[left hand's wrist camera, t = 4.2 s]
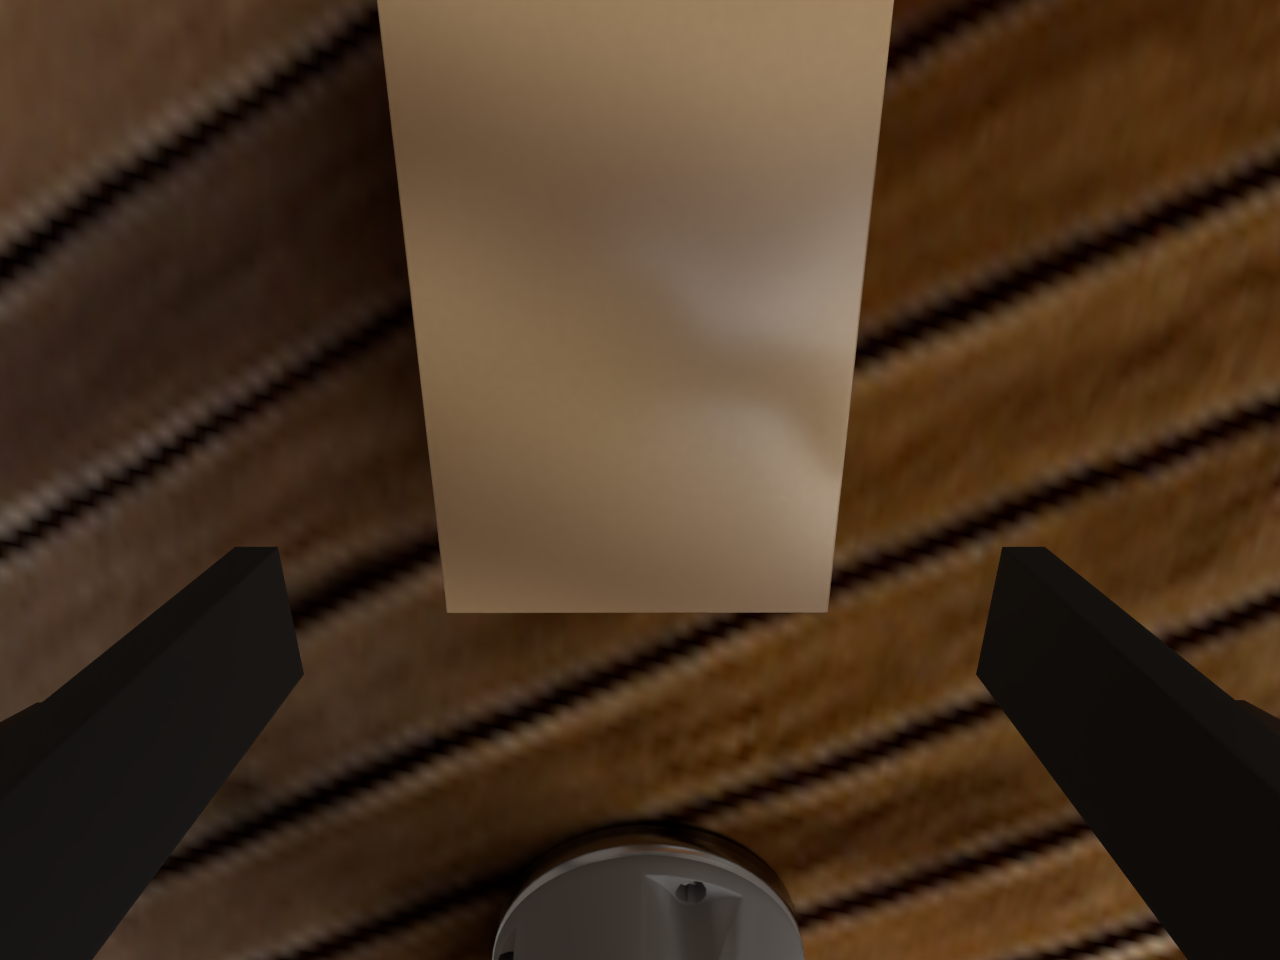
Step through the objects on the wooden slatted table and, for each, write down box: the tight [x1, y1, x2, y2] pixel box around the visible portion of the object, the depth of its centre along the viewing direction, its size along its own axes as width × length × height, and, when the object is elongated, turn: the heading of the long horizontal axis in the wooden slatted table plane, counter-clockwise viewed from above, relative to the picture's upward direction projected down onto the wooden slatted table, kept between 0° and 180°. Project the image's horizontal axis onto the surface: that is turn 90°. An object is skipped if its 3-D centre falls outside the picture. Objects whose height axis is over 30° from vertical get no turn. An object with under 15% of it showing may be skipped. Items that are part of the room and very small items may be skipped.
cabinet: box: [377, 0, 894, 613], centre depth 19 cm, size 22×10×8 cm, turn 0°
